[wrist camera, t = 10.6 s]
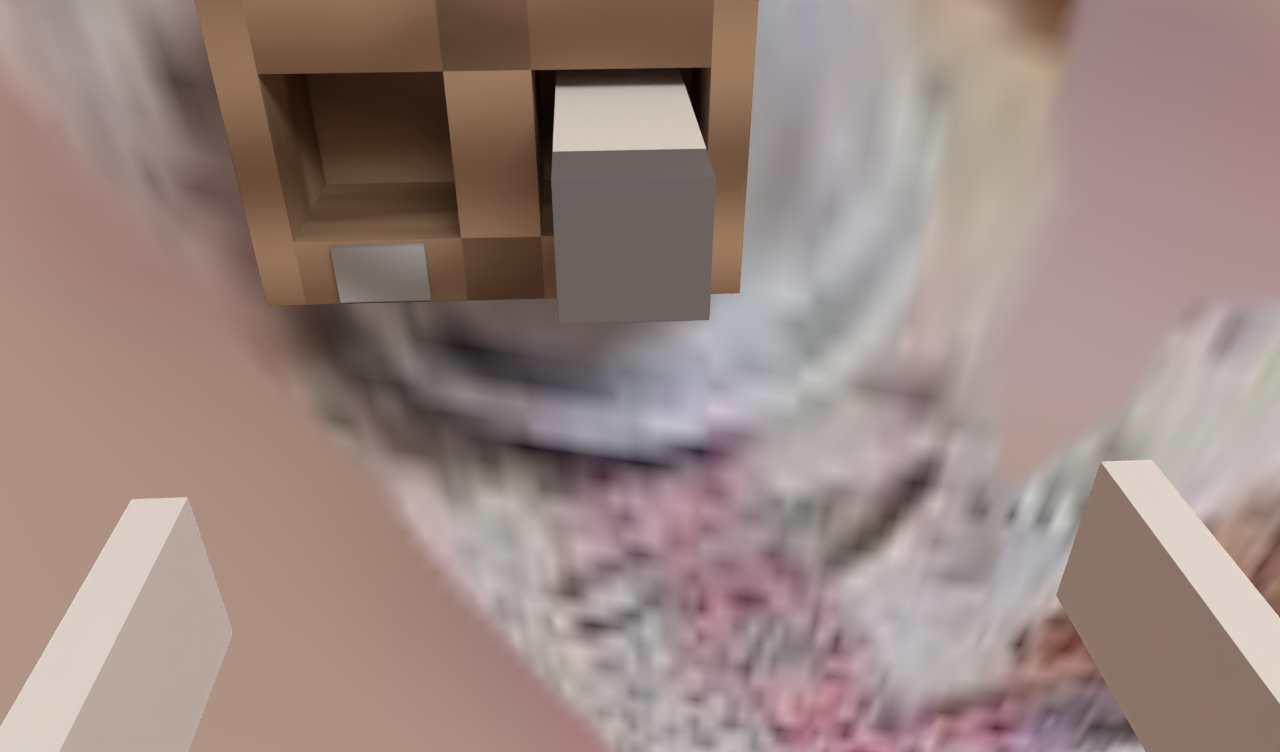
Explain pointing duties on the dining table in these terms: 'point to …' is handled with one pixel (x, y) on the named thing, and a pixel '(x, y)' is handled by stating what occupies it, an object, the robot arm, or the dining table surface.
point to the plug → (630, 198)
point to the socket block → (446, 133)
